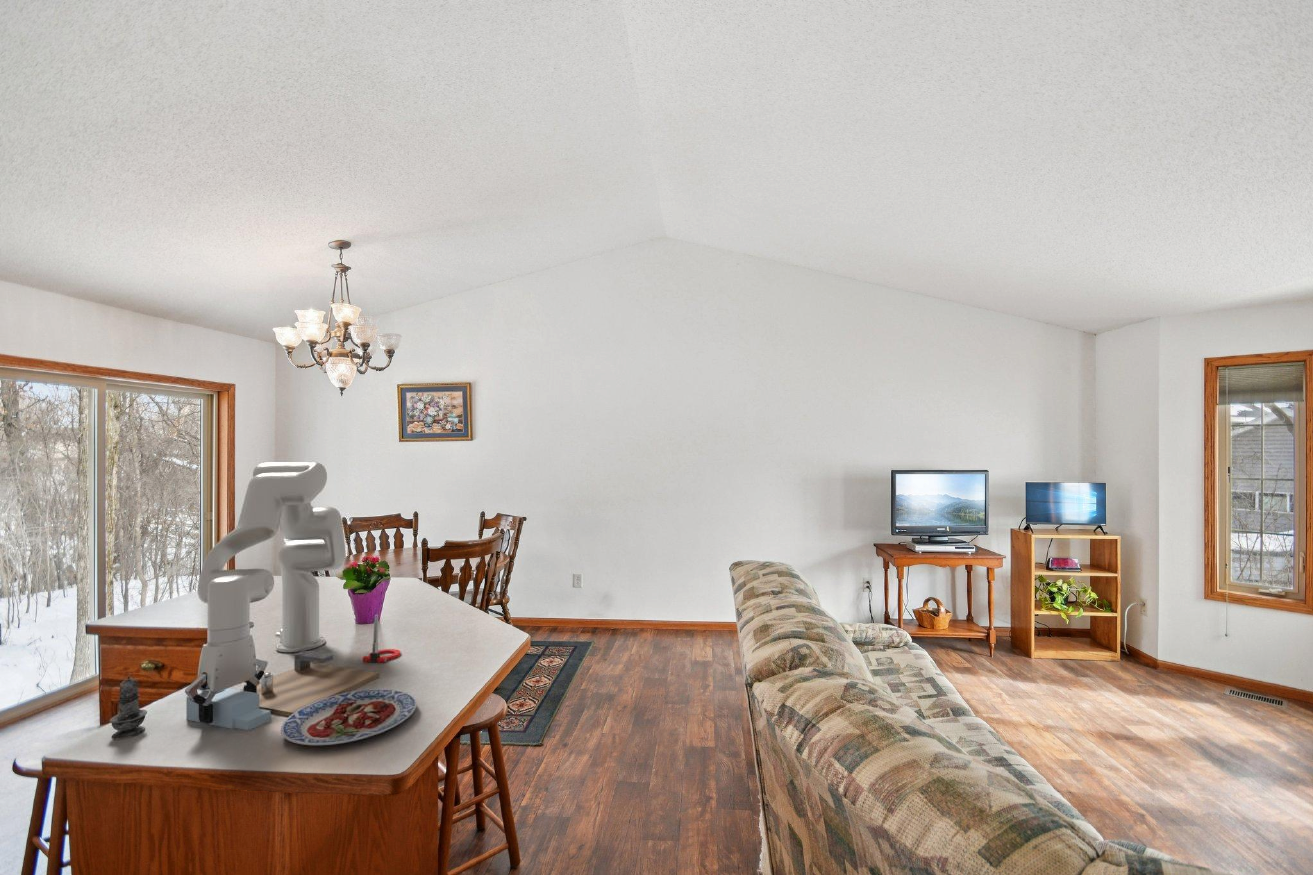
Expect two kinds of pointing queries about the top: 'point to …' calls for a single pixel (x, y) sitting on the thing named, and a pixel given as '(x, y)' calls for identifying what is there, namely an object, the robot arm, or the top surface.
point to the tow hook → (376, 653)
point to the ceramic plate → (348, 717)
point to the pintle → (267, 684)
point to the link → (232, 710)
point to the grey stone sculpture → (128, 711)
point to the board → (310, 687)
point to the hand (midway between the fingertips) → (228, 712)
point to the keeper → (309, 659)
